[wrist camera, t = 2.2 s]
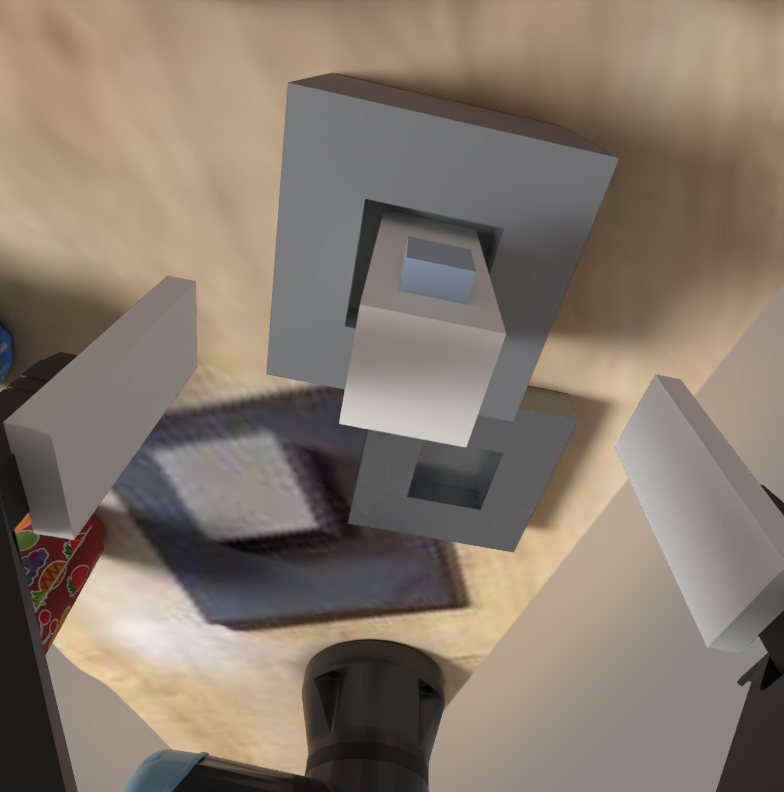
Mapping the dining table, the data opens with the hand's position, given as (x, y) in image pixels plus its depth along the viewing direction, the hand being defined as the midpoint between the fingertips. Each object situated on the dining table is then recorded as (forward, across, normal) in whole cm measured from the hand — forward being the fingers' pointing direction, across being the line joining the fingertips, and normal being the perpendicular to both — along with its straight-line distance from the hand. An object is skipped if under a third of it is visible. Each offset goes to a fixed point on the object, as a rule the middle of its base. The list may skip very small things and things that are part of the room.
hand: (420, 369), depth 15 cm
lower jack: (+18, -6, +16) cm, 25 cm away
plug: (+10, 0, 0) cm, 10 cm away
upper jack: (+18, 0, 0) cm, 18 cm away
